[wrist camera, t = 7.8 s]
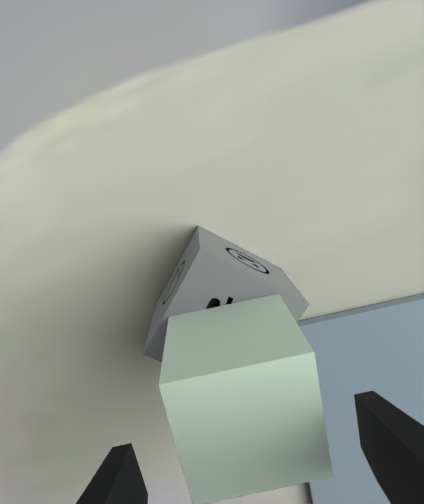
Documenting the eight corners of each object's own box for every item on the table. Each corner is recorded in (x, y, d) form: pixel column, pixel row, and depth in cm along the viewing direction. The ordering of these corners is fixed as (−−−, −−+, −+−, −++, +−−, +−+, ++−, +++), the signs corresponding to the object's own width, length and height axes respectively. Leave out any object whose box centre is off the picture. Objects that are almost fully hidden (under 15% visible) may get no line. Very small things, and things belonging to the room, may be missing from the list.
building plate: (523, 470, 24) (531, 477, 24) (314, 515, 24) (317, 524, 24) (526, 270, 20) (536, 274, 20) (280, 325, 20) (282, 330, 20)
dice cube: (198, 225, 19) (200, 249, 14) (280, 268, 20) (309, 304, 15) (155, 305, 20) (143, 353, 15) (235, 343, 21) (248, 400, 16)
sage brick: (295, 388, 16) (333, 476, 12) (193, 410, 16) (192, 506, 12) (278, 293, 15) (314, 351, 10) (168, 317, 15) (158, 384, 10)
